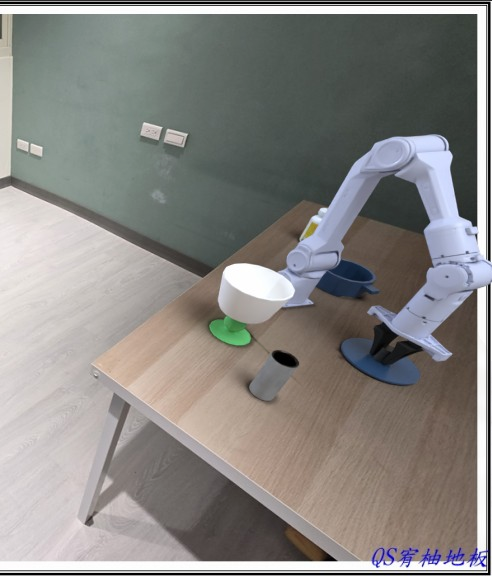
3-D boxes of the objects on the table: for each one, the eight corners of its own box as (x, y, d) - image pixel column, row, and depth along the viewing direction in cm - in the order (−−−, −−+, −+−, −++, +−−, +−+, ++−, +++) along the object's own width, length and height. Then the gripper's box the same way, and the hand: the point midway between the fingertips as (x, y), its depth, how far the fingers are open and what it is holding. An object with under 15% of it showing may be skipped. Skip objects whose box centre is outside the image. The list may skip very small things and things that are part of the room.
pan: (345, 307, 99) (357, 291, 96) (292, 269, 113) (301, 254, 110) (385, 302, 101) (398, 286, 97) (328, 265, 114) (338, 250, 111)
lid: (379, 390, 77) (394, 376, 74) (324, 344, 88) (335, 330, 85) (433, 383, 79) (450, 368, 76) (373, 338, 89) (386, 324, 87)
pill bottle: (321, 249, 122) (341, 217, 115) (297, 243, 125) (316, 211, 118) (322, 241, 126) (342, 210, 119) (299, 236, 129) (317, 204, 122)
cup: (186, 319, 95) (209, 267, 85) (231, 309, 98) (258, 259, 88) (227, 358, 85) (258, 305, 75) (275, 347, 87) (311, 294, 78)
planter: (251, 379, 80) (273, 346, 74) (275, 390, 78) (301, 357, 71) (246, 393, 77) (269, 359, 71) (271, 405, 75) (298, 371, 68)
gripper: (484, 335, 69) (431, 382, 77) (404, 288, 80) (365, 333, 89) (452, 340, 68) (402, 386, 76) (376, 291, 79) (339, 336, 88)
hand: (380, 358), depth 82 cm, fingers closed on lid, 2 cm apart
